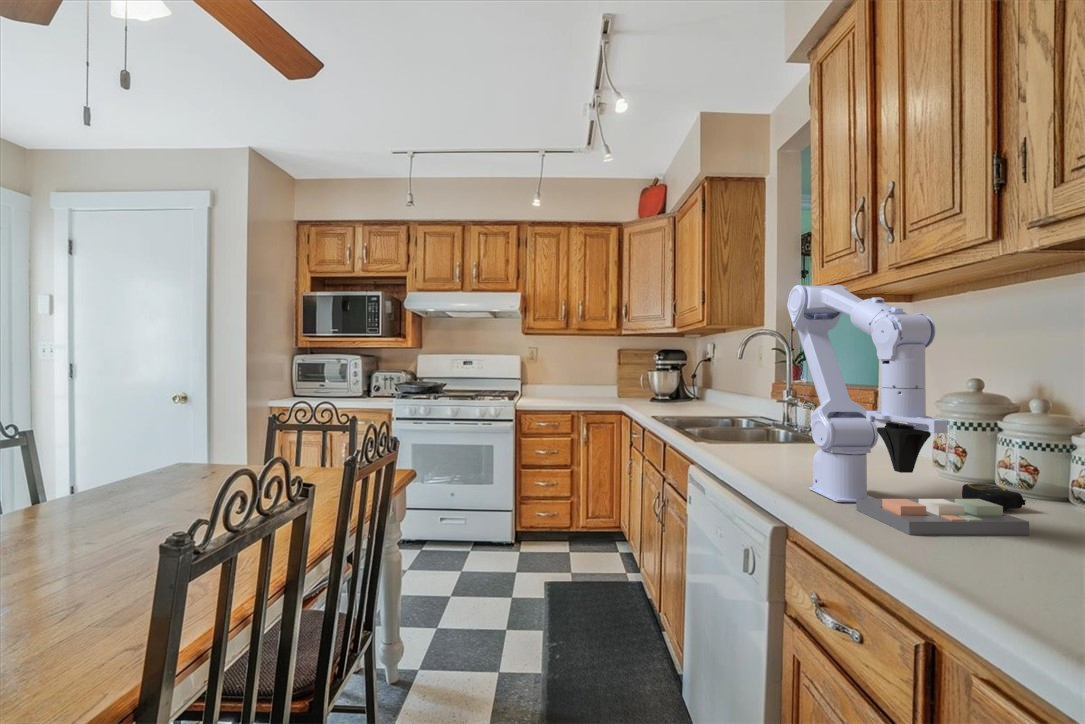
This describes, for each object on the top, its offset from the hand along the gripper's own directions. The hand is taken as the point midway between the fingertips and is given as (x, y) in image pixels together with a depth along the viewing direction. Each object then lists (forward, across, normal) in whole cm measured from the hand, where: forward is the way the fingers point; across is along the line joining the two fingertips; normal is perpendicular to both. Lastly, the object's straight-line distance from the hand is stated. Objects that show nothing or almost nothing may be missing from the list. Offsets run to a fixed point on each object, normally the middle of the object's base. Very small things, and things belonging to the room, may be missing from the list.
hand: (903, 471), depth 75 cm
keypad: (+8, -1, +6) cm, 10 cm away
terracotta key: (+7, 0, 0) cm, 7 cm away
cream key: (+7, 0, +6) cm, 9 cm away
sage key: (+7, 0, +12) cm, 14 cm away
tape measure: (+9, -8, +22) cm, 25 cm away
